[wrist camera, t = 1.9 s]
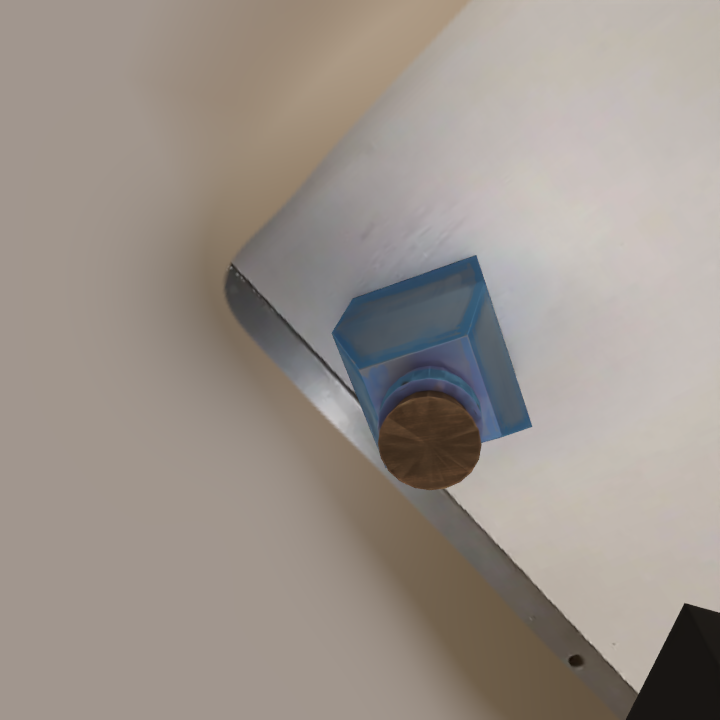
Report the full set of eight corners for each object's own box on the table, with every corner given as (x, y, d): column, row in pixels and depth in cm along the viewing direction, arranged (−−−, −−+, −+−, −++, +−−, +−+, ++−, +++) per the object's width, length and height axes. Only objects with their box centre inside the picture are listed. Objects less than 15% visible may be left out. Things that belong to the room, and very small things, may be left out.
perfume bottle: (396, 410, 32) (370, 551, 21) (352, 298, 31) (299, 384, 19) (515, 374, 31) (557, 504, 19) (476, 255, 29) (496, 320, 18)
